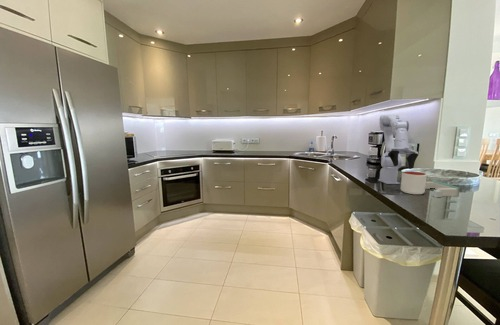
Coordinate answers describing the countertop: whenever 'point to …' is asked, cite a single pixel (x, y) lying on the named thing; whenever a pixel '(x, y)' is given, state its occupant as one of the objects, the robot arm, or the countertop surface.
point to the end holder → (443, 188)
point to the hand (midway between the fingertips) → (403, 166)
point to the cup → (413, 182)
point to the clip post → (437, 193)
